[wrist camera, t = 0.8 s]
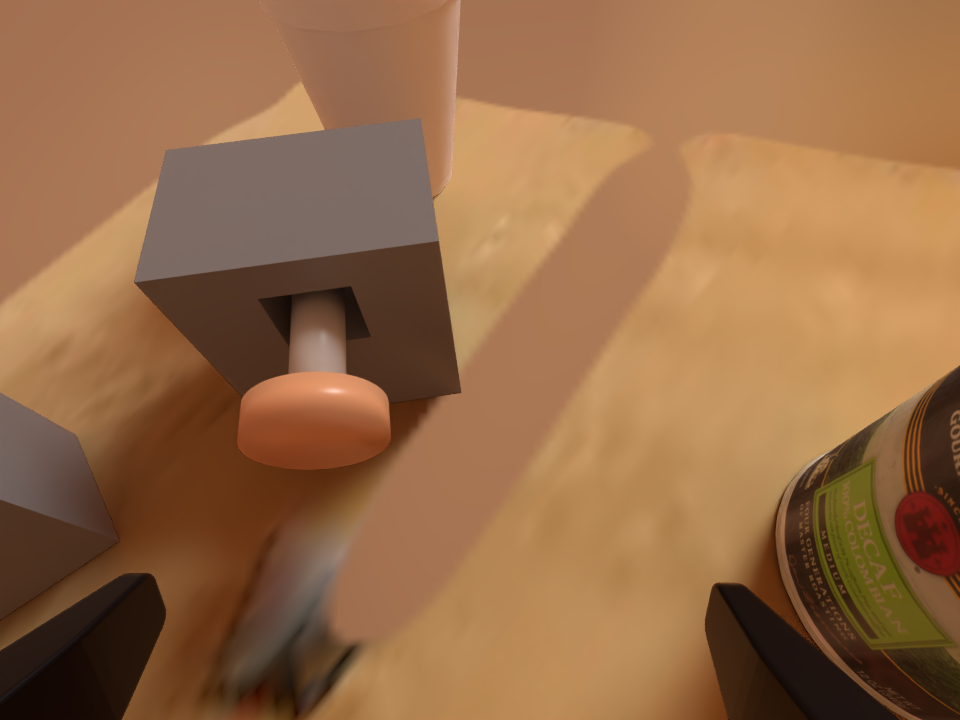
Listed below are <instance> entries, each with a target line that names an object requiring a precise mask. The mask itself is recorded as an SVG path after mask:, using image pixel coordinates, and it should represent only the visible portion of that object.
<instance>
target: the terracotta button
mask: <svg viewBox="0 0 960 720" xmlns="http://www.w3.org/2000/svg"><path fill="white" fill-rule="evenodd" d="M390 441H391V429H390V414H389V401H388V397H387V395H386V394H385V392H384V391H383V390H382V389H381V388H379V387H378V386H377V385H375V384H373V383H372V382H370V381H367V380H365V379H362V378H359V377H356V376H352V375H347V373H346V324H345V287H342V288H335V289H328V290H321V291H313V292H306V293H299V294H292V305H291V327H290V350H289V372H288V374H287V375H282V376H278V377H274V378H271V379H268V380H265V381H263V382H261V383H259V384H257V385H256V386H254V387H252V388H251V389H250V390H249V391H247V392H246V394H245V395H244V396H243V398H242V400H241V406H240V416H239V427H238V437H237V446H238V448H239V450H240V451H241V452H242V453H243V454H244V455H245V456H247V457H248V458H250V459H252V460H254V461H256V462H259V463H262V464H265V465H269V466H273V467H279V468H285V469H297V470H318V469H330V468H337V467H343V466H348V465H352V464H356V463H359V462H362V461H365V460H368V459H370V458H372V457H374V456H376V455H378V454H379V453H381V452H382V451H383V450H384V449H385V448H387V446H388V445H389V443H390Z"/></svg>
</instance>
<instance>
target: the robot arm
mask: <svg viewBox="0 0 960 720" xmlns="http://www.w3.org/2000/svg"><path fill="white" fill-rule="evenodd" d="M165 618H166V608H165V605H164V602H163V599H162V596H161V594H160V591H159V588H158V585H157V582H156V580H155V578H154V576H152V575H151V574H148V573H126V574H123V575H121V576H119V577H117V578H116V579H114V580H113V581H111V582H109V583H108V584H106V585H105V586H103V587H102V588H100V589H98V590H97V591H95V592H94V593H92V594H90V595H89V596H87V597H86V598H84V599H82V600H81V601H79V602H78V603H76V604H74V605H73V606H71V607H70V608H68V609H66V610H65V611H63V612H62V613H60V614H58V615H57V616H55V617H54V618H52V619H50V620H49V621H47V622H46V623H44V624H42V625H41V626H39V627H38V628H36V629H34V630H33V631H31V632H30V633H28V634H26V635H25V636H23V637H22V638H20V639H18V640H17V641H15V642H14V643H12V644H10V645H9V646H7V647H6V648H4V649H2V650H1V651H0V720H122V718H123V716H124V713H125V711H126V709H127V707H128V705H129V703H130V700H131V698H132V696H133V694H134V691H135V689H136V687H137V684H138V682H139V680H140V678H141V675H142V673H143V671H144V669H145V666H146V664H147V662H148V660H149V657H150V655H151V653H152V651H153V648H154V646H155V644H156V641H157V639H158V637H159V635H160V632H161V630H162V628H163V625H164V622H165ZM705 632H706V637H707V641H708V645H709V648H710V652H711V656H712V660H713V664H714V667H715V671H716V675H717V679H718V682H719V686H720V690H721V694H722V698H723V701H724V705H725V709H726V713H727V717H728V720H899V719H898V718H897V717H896V716H894V715H893V714H892V713H891V712H890V711H889V710H888V709H886V708H885V707H884V706H883V705H882V704H881V703H879V702H878V701H877V700H876V699H875V698H874V697H873V696H871V695H870V694H869V693H868V692H867V691H866V690H864V689H863V688H862V687H861V686H860V685H859V684H858V683H856V682H855V681H854V680H853V679H852V678H851V677H849V676H848V675H847V674H846V673H845V672H844V671H843V670H841V669H840V668H839V667H838V666H837V665H836V664H835V663H833V662H832V661H831V660H830V659H829V658H828V657H826V656H825V655H824V654H823V653H822V652H821V651H820V650H818V649H817V648H816V647H815V646H814V645H813V644H811V643H810V642H809V641H808V640H807V639H806V638H805V637H803V636H802V635H801V634H800V633H799V632H798V631H796V630H795V629H794V628H793V627H792V626H791V625H790V624H788V623H787V622H786V621H785V620H784V619H783V618H781V617H780V616H779V615H778V614H777V613H776V612H775V611H773V610H772V609H771V608H770V607H769V606H768V605H767V604H765V603H764V602H763V601H762V600H761V599H760V598H758V597H757V596H756V595H755V594H754V593H753V592H752V591H750V590H749V589H748V588H747V587H746V586H744V585H742V584H740V583H715V584H714V585H713V587H712V589H711V594H710V598H709V603H708V608H707V613H706V617H705Z"/></svg>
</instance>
